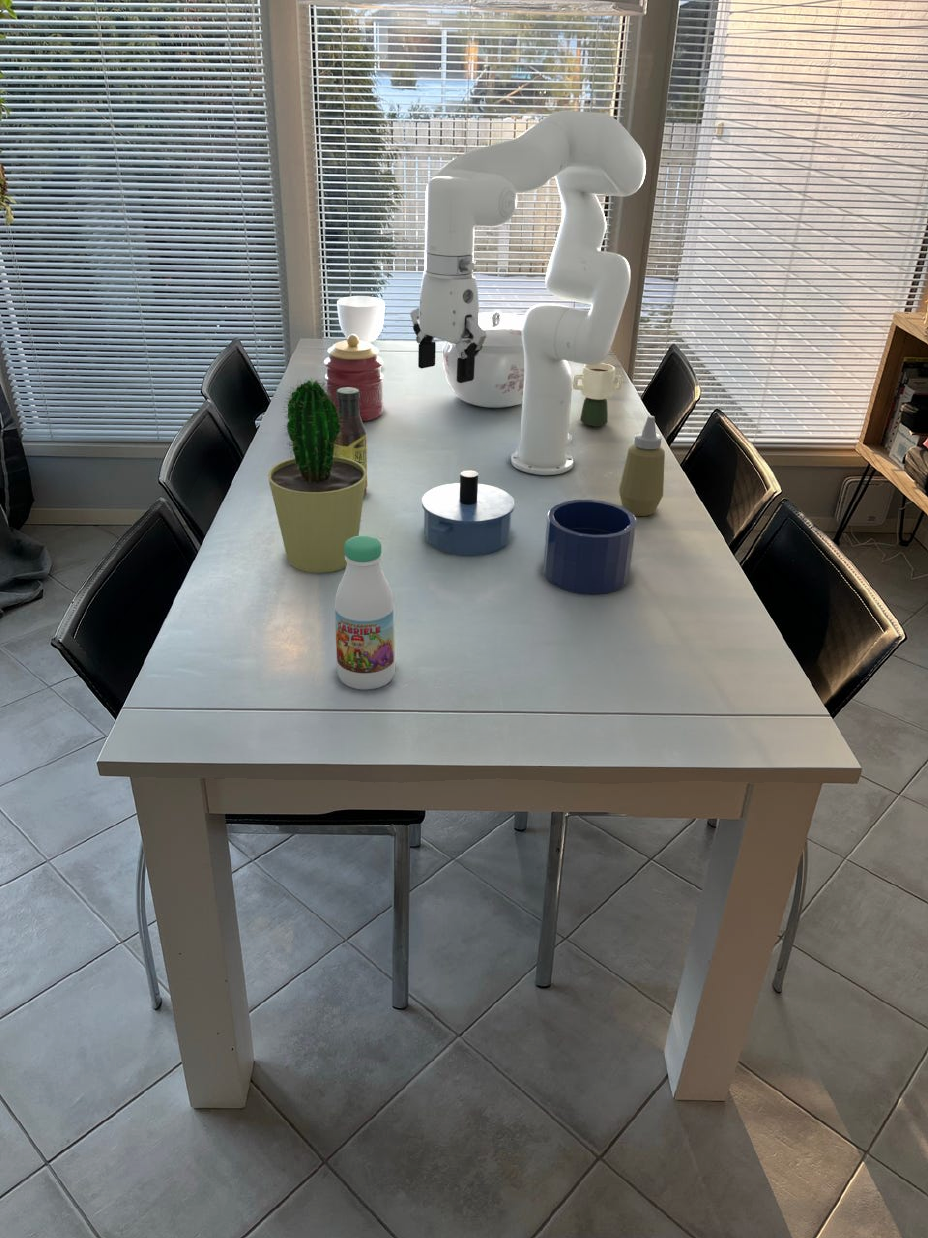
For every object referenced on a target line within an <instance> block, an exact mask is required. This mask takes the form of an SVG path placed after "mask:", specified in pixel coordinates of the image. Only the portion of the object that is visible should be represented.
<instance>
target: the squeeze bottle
mask: <svg viewBox="0 0 928 1238" xmlns="http://www.w3.org/2000/svg"><path fill="white" fill-rule="evenodd" d="M656 431H657V429H656V418H655V416H654V415H648V416H647V417H646V420H645V423H644V425H643V429H642V432H637V433H636V434H635V436H634V443H633V444H631V446H629V447H628V449H627V454H626V457H625V462H624V467H623V471H622V475H621V480H620V483H619V487H618V488H619V489H618V493H619V497H620V501H621V507H623V508H625V509H627V510H628V511H629V512H631V513H632V514H633V515H634V516H636V517H646V516H647V517H648V516H651V515H653V514H654V513H655V512H656V510H657V508H658V506H659V504H660V502H661V500H662V498H663V497H664V484H665V483H664V482H665V460H666V459H665V457H666V455H665V454H666V453H665V452H666V451H665V449H664V448H663V447H662V436H661V435H660V434H658V433H657V432H656Z"/></svg>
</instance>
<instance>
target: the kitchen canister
mask: <svg viewBox="0 0 928 1238" xmlns="http://www.w3.org/2000/svg"><path fill="white" fill-rule="evenodd" d="M326 353H327V354H328V356H327V357H326V358H325V359H324V361H323V364H324V366H325V367H326V373H325V375H324V379H325V387H327V388H328V389H327V390H326V389H325V390H326V391H325V392H326V393H327V392H328V393H327V394H326V395H328V396H329V393H330V395H331V394H332V393H333V394H332V395H331V396H330V397H329V398H331V397H332V398H331V399H330V400H331V401H332V403H334V406H335V404H336V406H335V407H336V408H337V411H336V412H337V413H338V399H337V390H338V389H340V388H346V387H352V388H356V389H358V390H359V394H360V398H359V411H360V413H359V414H360V417H361V420H362V422H366V421H371V420H375V419H377V418H379V417H381V416H382V414H383V411H384V404H385V403H384V398H383V397H384V395H383V394H384V393H383V389H384V387H383V379H384V374H383V373H382V368H381V367H383V364H384V361H383V359H382V358H381V357H380V356H378V355H379V353H380V350H379V348H377V347H376V346H374V345H373V344H372V343H371V342H370V343H368V342H364V341H359V338H358V337H357V336H356V335H350V336H348V338H346V340H342V341H341V340H340V341H337V342H336V343H334V344H333V345H332V346H330V347H328V349H327V352H326ZM334 401H335V402H334ZM338 415H339V414H338Z"/></svg>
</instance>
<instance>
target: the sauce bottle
mask: <svg viewBox="0 0 928 1238" xmlns="http://www.w3.org/2000/svg"><path fill="white" fill-rule="evenodd" d="M359 398H360V394H359V390H358V389H356V388H352V387H346V388H340V389H338V390H337V399H338V414H340V413H341V414H340V416H341V417H340V416H338V418H339V423H340V424H341V425H340V427H343V426H346V427H343V428H340V430H341V433H340V432H339V433H338V434H337V436H340V437H337V438H336V439H338V438H339V439H338V440H335V441H334V447H336V446H337V445H338V446H337V447H336V448H338V449H335V448H334V451H335V452H334V455H335V454H336V455H337V456H339V457H344V458H348V459H351V460H354V461H356V462H358V463H360V464H361V465H363V466H364V467H365V468H366V471H367V472H368V445H367V444H368V443H367V441H368V440H367V439H368V438H367V431H366V428H365V426H364V423H363V422H364V421H362V420H361V417H360V414H359V413H360V411H359ZM339 410H340V411H339ZM341 419H343V420H341ZM345 420H347V421H345ZM342 423H344V424H343V425H342ZM342 432H343V433H342ZM340 434H341V435H340ZM342 442H343V443H342ZM335 444H337V445H335ZM339 445H340V446H339ZM336 450H338V451H336ZM334 455H333V456H334ZM336 455H335V456H336ZM367 487H368V475H367V476H366V479H365V489H364V497H365V496H366V495H367V489H368V488H367Z"/></svg>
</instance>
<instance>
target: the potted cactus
mask: <svg viewBox="0 0 928 1238" xmlns="http://www.w3.org/2000/svg"><path fill="white" fill-rule="evenodd" d="M319 381H321V379H320V380H319V378H318V380H317V379H315V380H313V378H310V379H309V380H305V381H304V382H303V383H302V382H301V380H300V379H298V380H296V382H297V383H298V385H296V388H295V387H292V388H291V389H289V391H287V390H286V392H287V393H289V392H290V393H289V394H288V397H285V396H284V397H285V398H284V399H286V400H287V401H285V400H284V402H285V403H286V404H285V403H284V405H286V406H287V409H284V408H283V410H284V411H283V412H282V414H283V413H285V414H286V416H285V420H287V421H284V423H285V422H286V424H285V428H284V431H286V432H285V433H284V435H282V436H283V437H284V436H285V437H289V440H290V442H287V443H286V444H287V446H288V445H289V446H288V450H291V449H292V451H291V456H293V458H289V457H290V455H289V456H288V455H287V458H289V459H286V460H283V461H280V462H279V463H277V464H275V465H274V466H273V467H271V468H270V470H269V471H268V473H267V478H268V482H269V487H270V492H271V496H272V500H273V504H274V508H275V512H276V516H277V521H278V525H279V529H280V534H281V538H282V542H283V547H284V551H285V554H286V558H287V559H286V560H287V561H288V563H289V564H290V565H291V566H292V567H293V568H295V569H296V570H300V571H303V572H306V573H307V572H308V573H317V574H319V573H320V574H321V573H332V572H336V571H340V570H343V569H346V566H347V561H346V560H345V550H344V546H345V542H346V541H347V540H348V539H350V538H352V537H355V536H360V529H361V519H362V511H363V506H364V505H363V504H364V497H365V496H364V489H365V479H366V476H367V477H368V470H367V471H366V468H365V467H364V466H363V465H361V464H360V463H358V462H356V461H354V460H351V459H348V458H344V457H339V456H337V455H336V454H335V455H336V456H335V455H334V452H335V451H334V448H335V449H338V448H336V447H337V446H338V445H337V444H335V445H337V446H336V447H334V441H335V440H338V439H339V438H338V439H336V438H337V437H340V436H337V434H338V433H339V432H340V433H341V430H340V428H343V427H346V426H343V427H340V425H341V424H340V423H339V418H338V416H340V414H341V413H340V414H339V415H338V413H337V412H336V411H337V408H336V407H335V406H336V404H335V406H334V403H332V401H331V400H330V399H331V398H332V397H331V398H329V397H330V396H331V395H332V394H333V393H332V394H331V395H330V393H329V396H328V395H326V394H327V393H328V392H327V393H326V390H327V389H328V388H327V387H326V386H325V383H322V382H319ZM324 386H325V387H324ZM334 402H335V401H334ZM339 411H340V410H339ZM340 417H341V416H340ZM341 420H343V419H341ZM345 421H347V420H345ZM343 424H344V423H342V425H343ZM342 433H343V432H342ZM340 435H341V434H340ZM342 443H343V442H342ZM339 446H340V445H339ZM336 451H338V450H336ZM333 455H334V456H333Z"/></svg>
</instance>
